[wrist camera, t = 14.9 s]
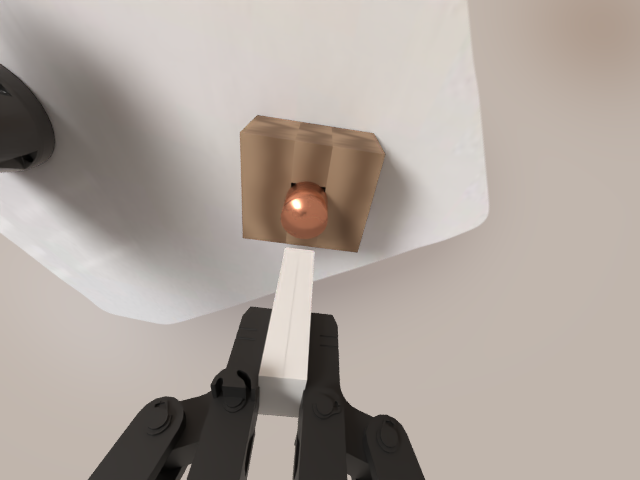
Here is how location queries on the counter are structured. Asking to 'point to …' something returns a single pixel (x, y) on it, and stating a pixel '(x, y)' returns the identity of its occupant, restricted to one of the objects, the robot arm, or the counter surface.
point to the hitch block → (307, 178)
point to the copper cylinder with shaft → (305, 210)
